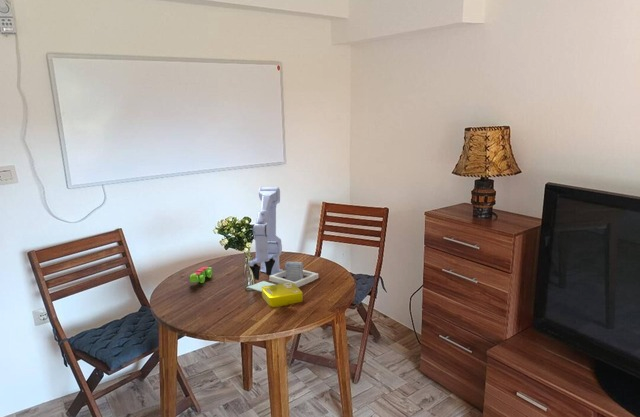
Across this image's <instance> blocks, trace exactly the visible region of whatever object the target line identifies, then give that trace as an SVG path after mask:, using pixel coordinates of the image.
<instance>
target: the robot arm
mask: <svg viewBox="0 0 640 417" xmlns="http://www.w3.org/2000/svg"><path fill="white" fill-rule="evenodd" d="M258 198H259V200H260V201H261V207H260V211H258V212H257V217H256V222H255V224H253V227H252V234H253V239H254V243H255V244H254V245H255V246H254V247H255V258H253V259H252V260H249V261H248V267H249V268H250V270H251V272H252V275H253V278H254V280H257V281H259V279H260V272H262V273H265V274H266V276H271V275H273V274H276V273H279V272H281V271H284V270H283V269H282V268H280V255H281V254H282V250H283V245H282V239H281V238H280V237H279V236H277V205H278V204H280V202H281V190H280V187H279V186H277V187H275V186H267V187H263V186H261V187H259V189H258ZM259 264H260V265H259Z"/></svg>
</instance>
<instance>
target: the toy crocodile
mask: <svg viewBox="0 0 640 417" xmlns="http://www.w3.org/2000/svg"><path fill="white" fill-rule="evenodd" d="M212 276H213V267H210V266H209V267H208V266H202V267H200V268H198V269H197V270H196V271H194V272H193V273H192V274H190V275H189V283H199V284H203V283H205V281H206V277H207V278H212Z"/></svg>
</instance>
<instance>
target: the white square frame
mask: <svg viewBox="0 0 640 417" xmlns="http://www.w3.org/2000/svg"><path fill="white" fill-rule="evenodd" d="M304 276H305V277H304ZM268 277H269V281H268V282H270V283H274V284H283V283H290V282H291V283H293V284H295V285H296V286H297V287H298V288H300V287H303V286H305V285H307V284H309V283H312V282H314V281H315V280H318V279H319V273H318V272H317V273H316V272H314V271H313V272H312V271H310V270H305V269H303V279H301V280H298V281H290V280H287V279H285V269H284V270H283V271H281V272H278V273H275V274H271V275H268Z"/></svg>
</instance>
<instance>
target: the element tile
mask: <svg viewBox="0 0 640 417" xmlns="http://www.w3.org/2000/svg"><path fill="white" fill-rule="evenodd" d="M261 297H262V298H263V299H264V300H263V301H265V302H266V304H267V305H268V306H269V307H271V308H277V307H283V306H289V305H291V304H292V305H293V304H297V303H302V302H303V300H304V297H303V291H302V290H301V289H300V287H297V286H296V285H295V284H293V283H291V282H290V283H283V284H278V283H276V284H275V285H271V286H264V287H262V292H261Z"/></svg>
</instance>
